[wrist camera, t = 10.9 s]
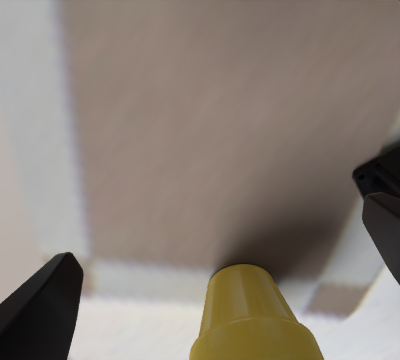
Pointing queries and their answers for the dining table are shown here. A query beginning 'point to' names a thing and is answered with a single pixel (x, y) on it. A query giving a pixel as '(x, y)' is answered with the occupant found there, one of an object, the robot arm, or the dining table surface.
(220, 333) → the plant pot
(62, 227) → the dining table surface
